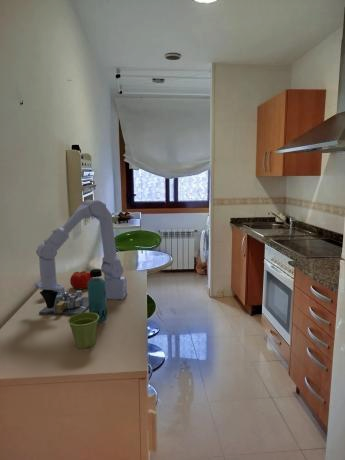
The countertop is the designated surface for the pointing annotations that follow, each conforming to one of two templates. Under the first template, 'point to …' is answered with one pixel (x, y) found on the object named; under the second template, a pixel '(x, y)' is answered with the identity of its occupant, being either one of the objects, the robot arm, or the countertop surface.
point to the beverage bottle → (97, 295)
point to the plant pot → (84, 329)
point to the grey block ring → (72, 303)
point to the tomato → (80, 279)
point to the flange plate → (70, 311)
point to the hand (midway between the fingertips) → (50, 307)
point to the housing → (67, 296)
